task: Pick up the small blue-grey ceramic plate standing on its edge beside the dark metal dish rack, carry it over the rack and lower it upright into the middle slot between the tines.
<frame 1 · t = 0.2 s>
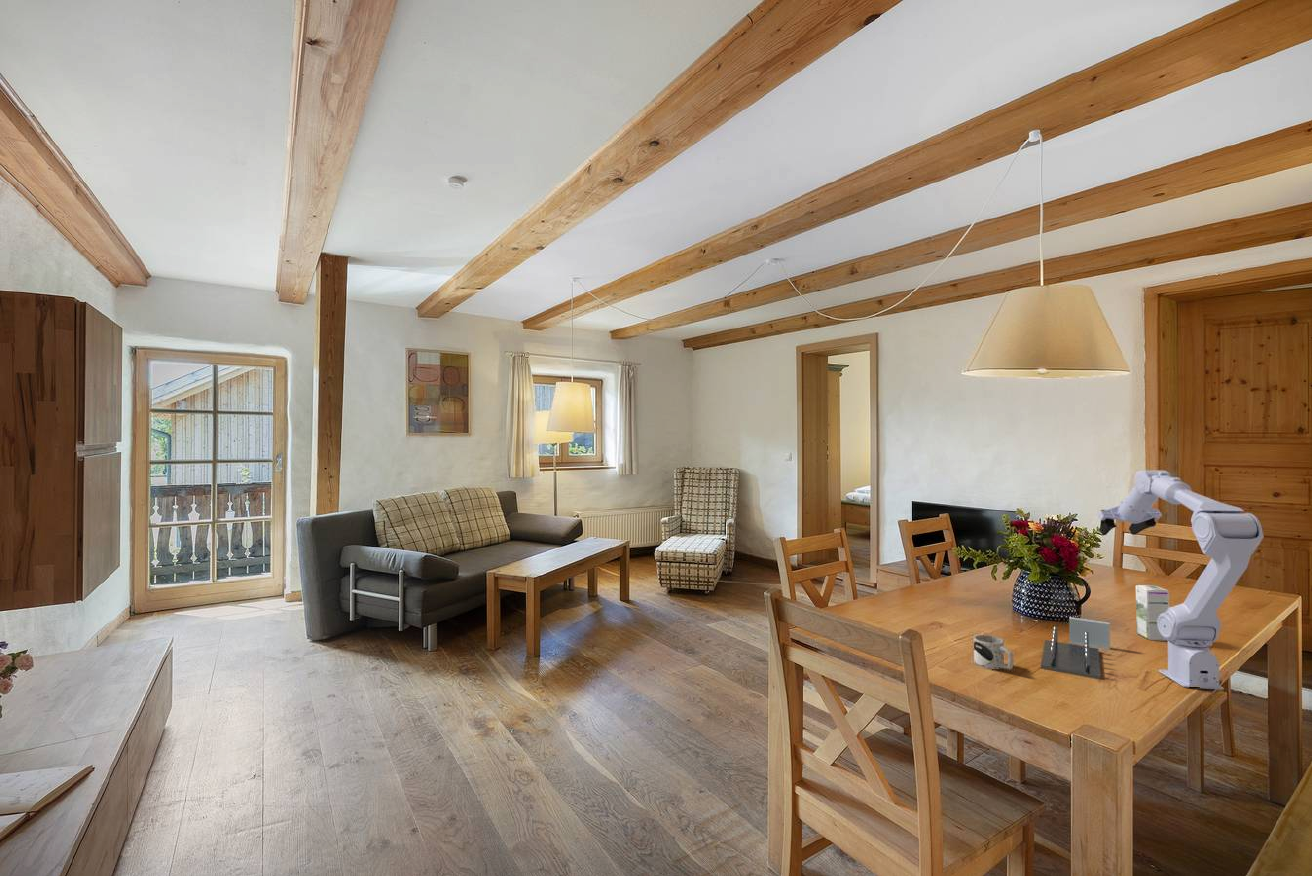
hand: (1116, 532, 167), 31 cm above the table, tool tilted 45°, fingers open, 7 cm apart
mug: (994, 668, 148), on the table
plate: (1089, 645, 163), on the table
syrup box: (1152, 638, 168), on the table
rack: (1070, 659, 152), on the table
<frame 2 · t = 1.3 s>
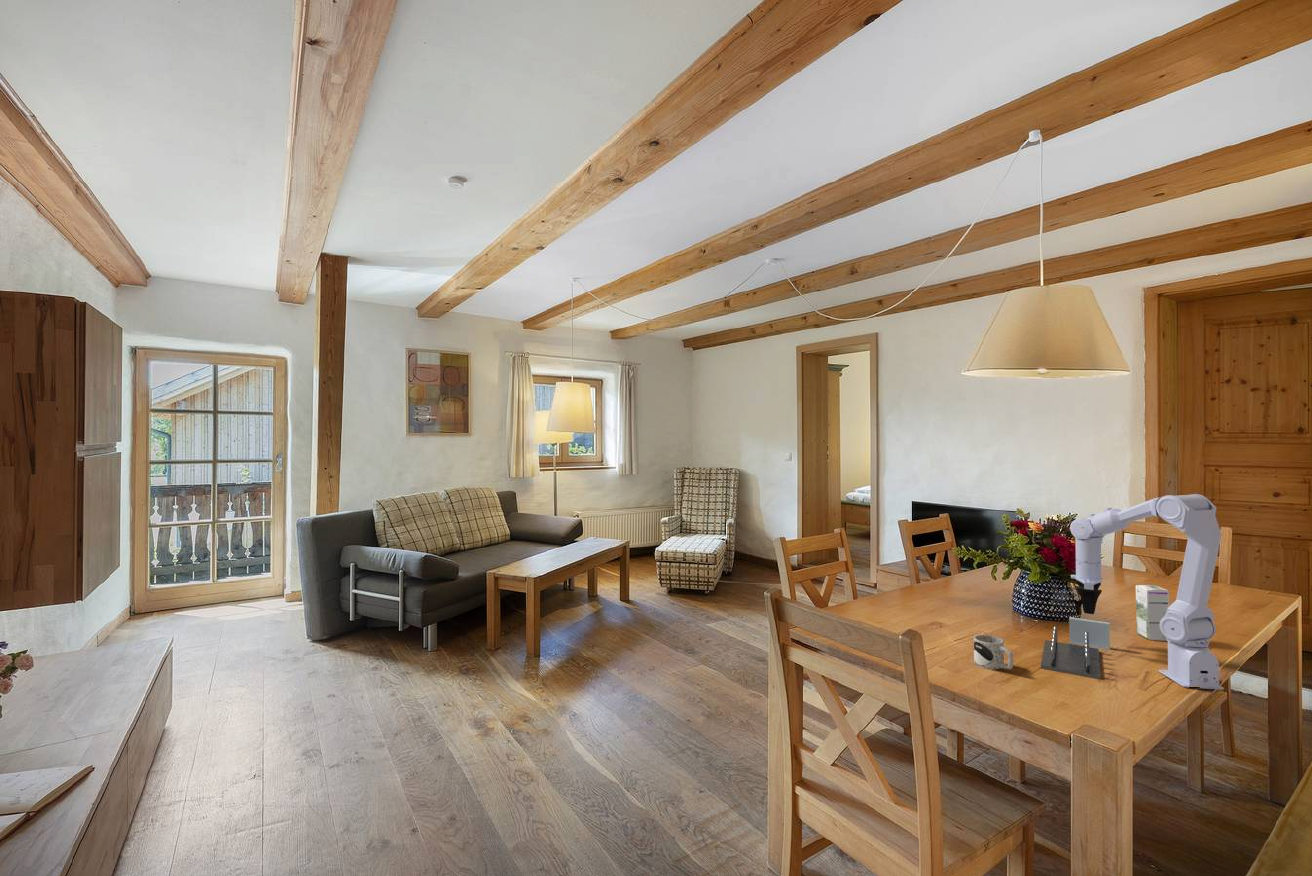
hand: (1088, 610, 163), 10 cm above the table, tool pointing down, fingers open, 7 cm apart
nothing on the table moved.
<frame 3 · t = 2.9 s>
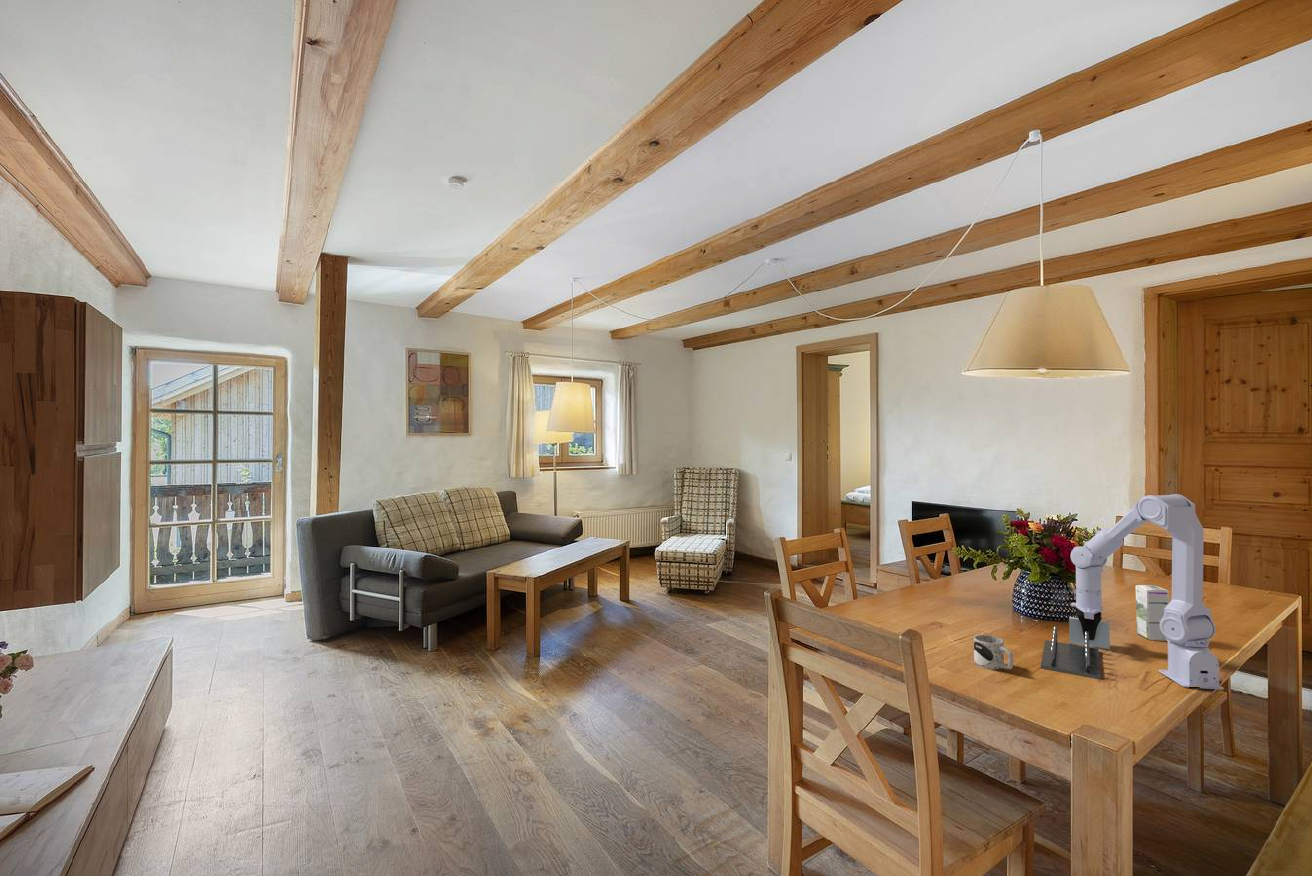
hand: (1089, 638, 163), 2 cm above the table, tool pointing down, fingers closed on plate, 2 cm apart
plate: (1089, 645, 163), on the table, touching gripper
everything else where it was.
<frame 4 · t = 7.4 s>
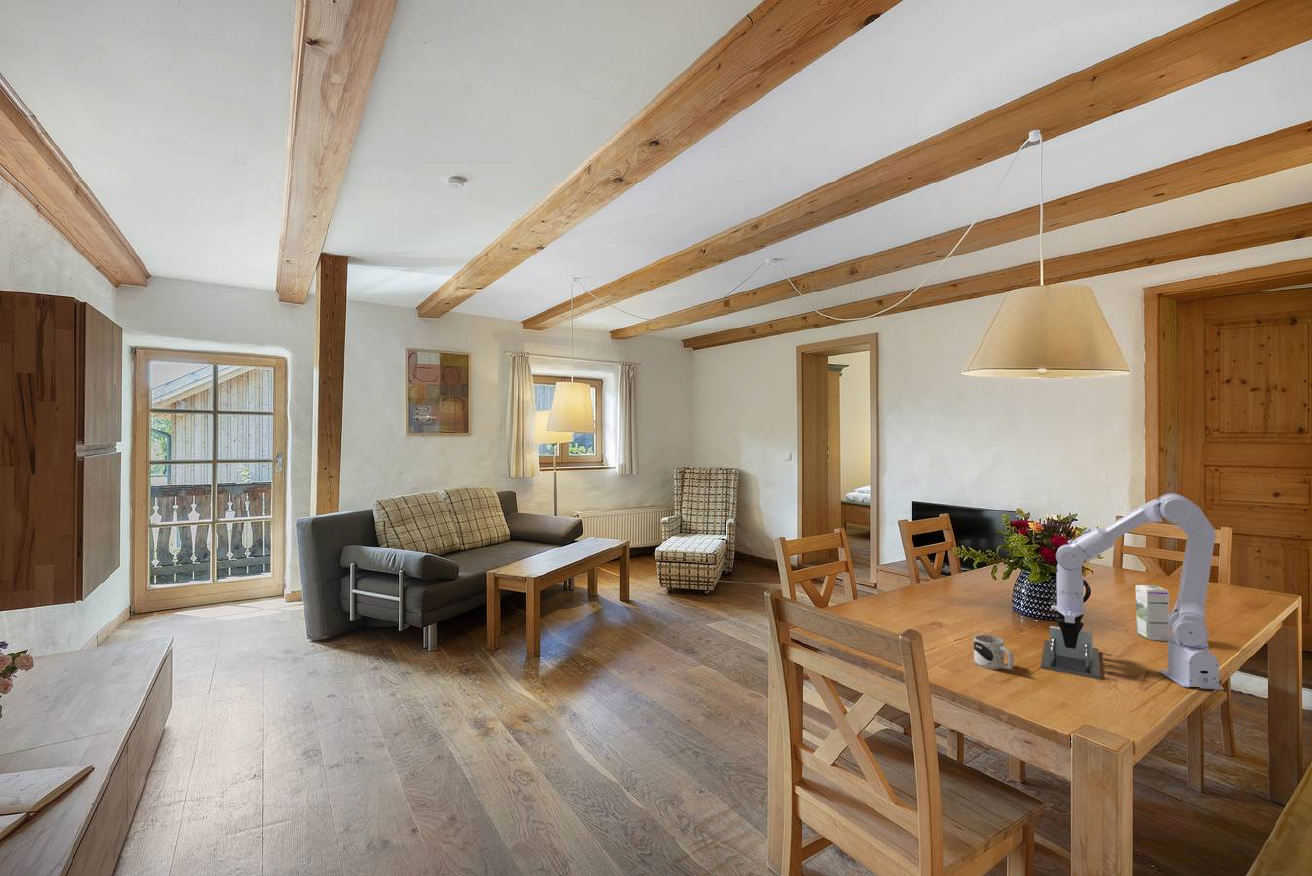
hand: (1070, 643, 152), 4 cm above the table, tool pointing down, fingers open, 7 cm apart
plate: (1071, 656, 152), point 1 cm above the table, touching rack
everything else where it was.
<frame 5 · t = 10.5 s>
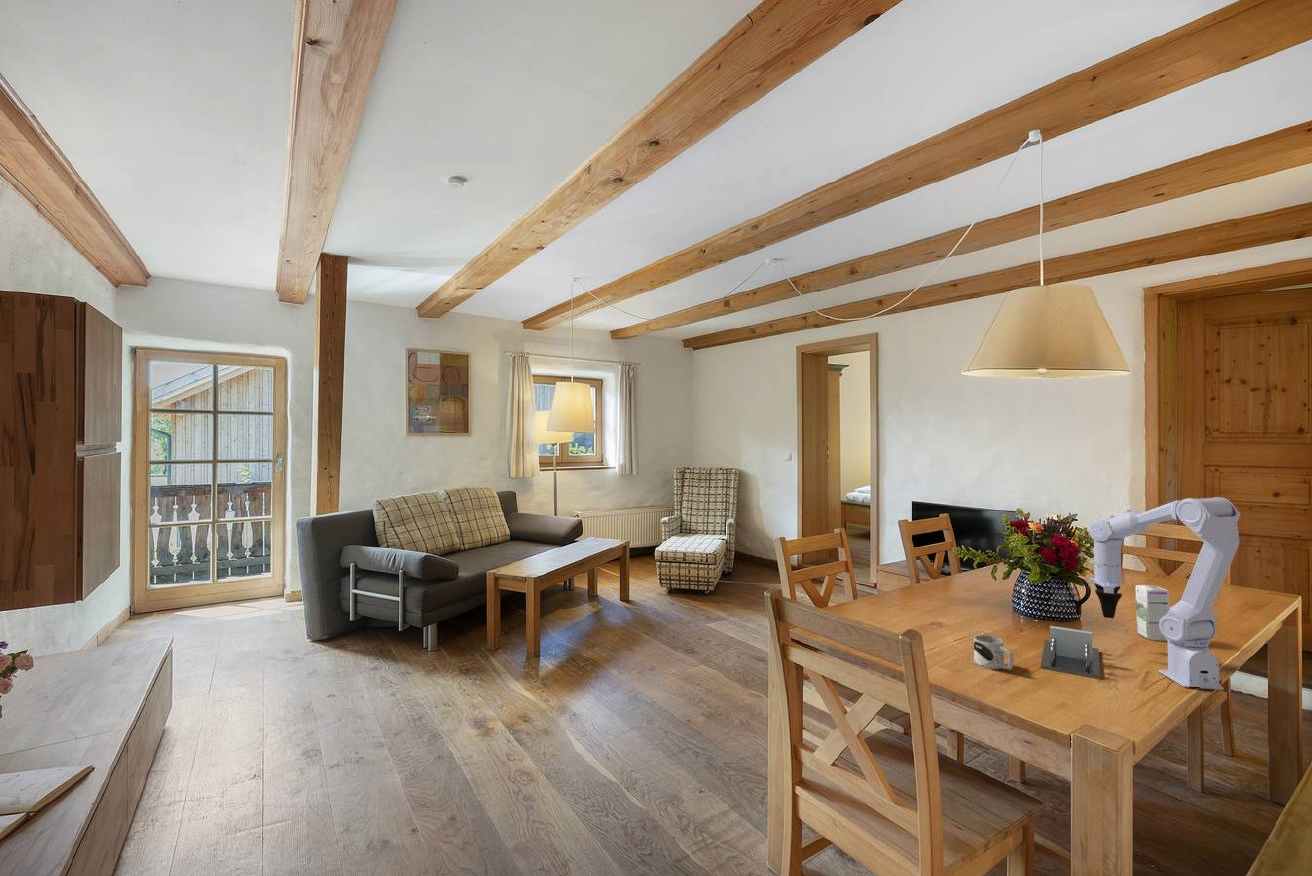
hand: (1108, 614, 158), 10 cm above the table, tool pointing down, fingers open, 7 cm apart
nothing on the table moved.
at the end: plate 0.1 cm off-centre on the rack, point 0.8 cm above the rack's base; plate tilted 0°; the gripper is holding nothing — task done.
